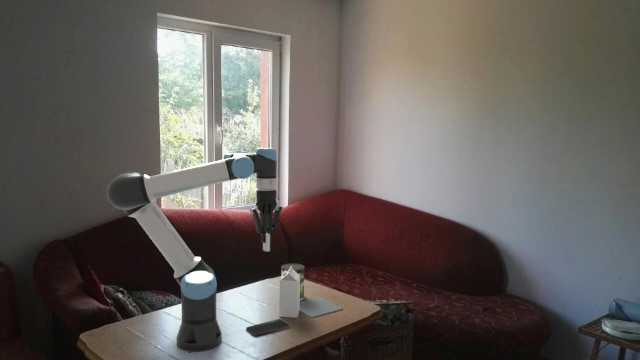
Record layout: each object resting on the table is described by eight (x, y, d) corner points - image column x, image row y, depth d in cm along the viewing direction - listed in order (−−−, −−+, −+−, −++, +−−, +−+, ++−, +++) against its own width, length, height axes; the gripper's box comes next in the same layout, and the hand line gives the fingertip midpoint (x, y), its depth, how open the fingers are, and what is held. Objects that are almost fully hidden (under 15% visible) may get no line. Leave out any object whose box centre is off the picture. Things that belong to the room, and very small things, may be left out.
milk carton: (299, 311, 193) (300, 266, 191) (297, 318, 186) (297, 271, 184) (282, 310, 193) (282, 265, 191) (279, 317, 186) (279, 270, 184)
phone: (244, 327, 174) (279, 318, 183) (244, 330, 175) (279, 321, 183) (254, 335, 168) (290, 325, 177) (254, 338, 168) (290, 328, 177)
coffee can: (308, 298, 207) (309, 267, 205) (288, 303, 201) (289, 271, 199) (295, 292, 215) (296, 261, 214) (276, 296, 209) (276, 265, 207)
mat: (311, 318, 186) (311, 317, 186) (289, 305, 199) (289, 304, 199) (342, 309, 195) (343, 308, 195) (320, 297, 208) (320, 296, 208)
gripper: (255, 191, 170) (255, 255, 173) (286, 189, 178) (286, 250, 181) (246, 189, 176) (246, 250, 179) (276, 186, 184) (276, 246, 187)
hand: (266, 250), depth 180 cm, fingers closed
